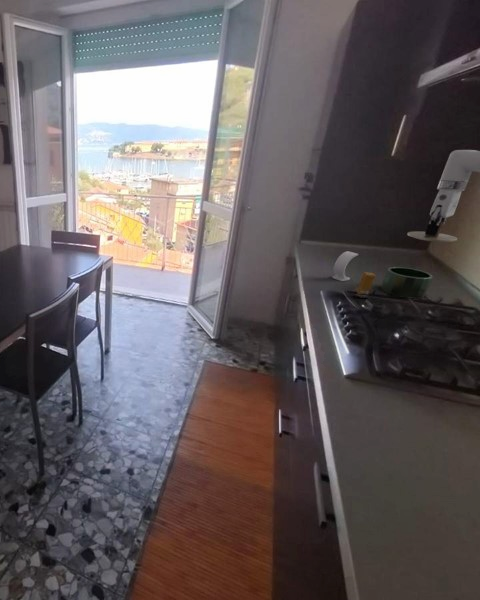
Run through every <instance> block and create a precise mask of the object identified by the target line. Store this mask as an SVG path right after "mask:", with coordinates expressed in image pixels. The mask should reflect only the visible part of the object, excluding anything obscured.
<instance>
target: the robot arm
mask: <svg viewBox="0 0 480 600" xmlns="http://www.w3.org/2000/svg"><path fill="white" fill-rule="evenodd" d="M473 172H474V173H480V150H476V149H455V150H453V151H451V152H450V154H449V156H448V157H447V161H446V163H445V166H444V169H443V172H442V174H441V177H440V179H439V182H438V185H437V187H436V190H438V192H437V194H436V197H435V198H434V202H433V203H432V206H431V208H430V212H429V216H430V220H429V222H428V225H427V227H426V230H425V231H424V232H425V234H427V235H433V236H435V235H436V234H437V231H438V229H439V227H440V225H439V224H440V222H441V221H442V222H444V225H443V227H442V230H441V232H440V234H442V232H443V229H444V227H445V223H446V221H447V218H449V217H452V216H454V214H455V212H456V209H457V207H458V204H459V202H460V198H461V195H462V192H464V191H465V190H466V188H467V185H468V183H469V180H470V178H471V175H472V173H473Z"/></svg>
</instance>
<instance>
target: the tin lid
mask: <svg viewBox="0 0 480 600" xmlns="http://www.w3.org/2000/svg"><path fill="white" fill-rule="evenodd" d="M439 225H440V227H439V229H438V231H437V234H436V235H435V236H433V235H427V234H425V232H426V231H418V230H417V231H408V232H407V233H406V234H407V236H408V237H411V238H414V239H417V240H421V241H426V242H434V243H435V242H436V243H452V242H453V243H454V242H457V241H458V238H457V236H453V235H449V234H446V233H442V231H443V229H442V227H443V228H444V226H445V223H444V222H442V221H441V222H440V224H439ZM443 225H444V226H443ZM441 230H442V231H441ZM440 232H441V233H440Z"/></svg>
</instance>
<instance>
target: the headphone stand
mask: <svg viewBox="0 0 480 600" xmlns="http://www.w3.org/2000/svg"><path fill="white" fill-rule="evenodd" d="M358 256H359V253H356V252H352V251H349V250H348V251H344V252H343V253H342V254H340V255H339V256H338V258H337V259H336V261H335V263H334V265H333V274H334V275H332V277H331V278H332V279H335V280H337V281H340V282H345V281H350V280H351V277H348V276H346V268H347V266H348V264H349V263H350V261H351V260H353V258H355V257H358Z"/></svg>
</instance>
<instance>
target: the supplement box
mask: <svg viewBox="0 0 480 600" xmlns="http://www.w3.org/2000/svg"><path fill="white" fill-rule="evenodd" d="M376 276H377V275H376V274H374V273H373V272H367V271H364V272H363V274H362V277H361V279H360V282H359V284H358V287H357V289H356V292H357V293H358V294H367V295H368V296H369V294H370V291H371V289H372V287H373V283H374V281H375V278H376ZM356 295H357V294H356V293H355V296H356Z"/></svg>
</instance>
